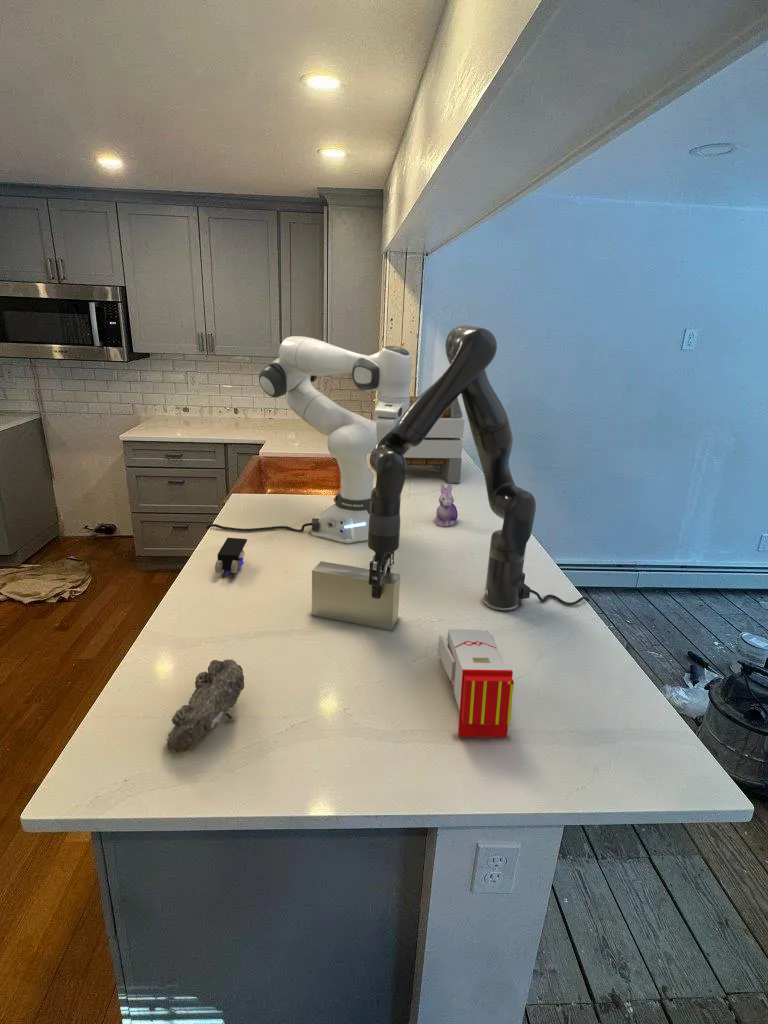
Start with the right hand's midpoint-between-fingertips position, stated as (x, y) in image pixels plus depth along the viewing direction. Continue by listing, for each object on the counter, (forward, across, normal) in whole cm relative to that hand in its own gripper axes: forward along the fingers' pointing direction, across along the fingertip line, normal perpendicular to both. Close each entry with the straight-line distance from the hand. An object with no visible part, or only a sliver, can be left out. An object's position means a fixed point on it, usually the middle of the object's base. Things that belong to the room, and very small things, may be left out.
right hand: (380, 590), depth 141 cm
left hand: (-26, +34, +8) cm, 44 cm away
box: (+9, 0, +7) cm, 11 cm away
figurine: (+9, +76, -4) cm, 77 cm away
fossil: (+9, -44, +20) cm, 50 cm away
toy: (+9, -20, -26) cm, 34 cm away
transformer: (+8, +139, +20) cm, 141 cm away
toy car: (+9, +13, +49) cm, 52 cm away
